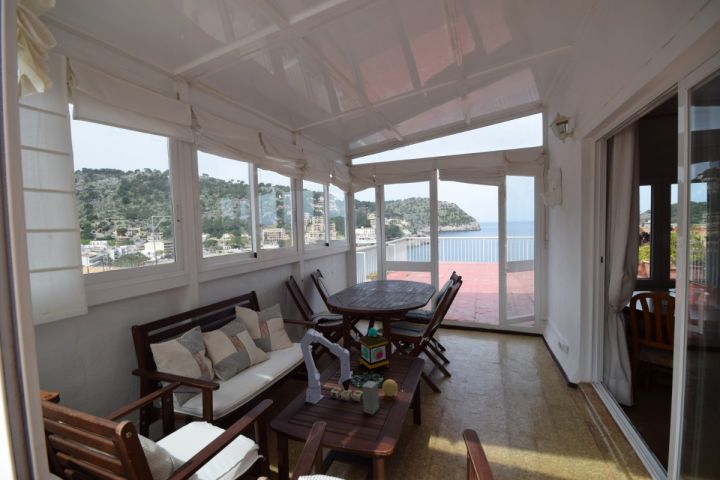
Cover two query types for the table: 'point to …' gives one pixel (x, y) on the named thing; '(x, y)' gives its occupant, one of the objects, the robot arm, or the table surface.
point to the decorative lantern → (373, 350)
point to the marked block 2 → (357, 395)
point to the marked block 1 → (336, 392)
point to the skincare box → (370, 397)
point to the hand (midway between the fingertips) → (346, 390)
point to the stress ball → (390, 387)
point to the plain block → (346, 395)
